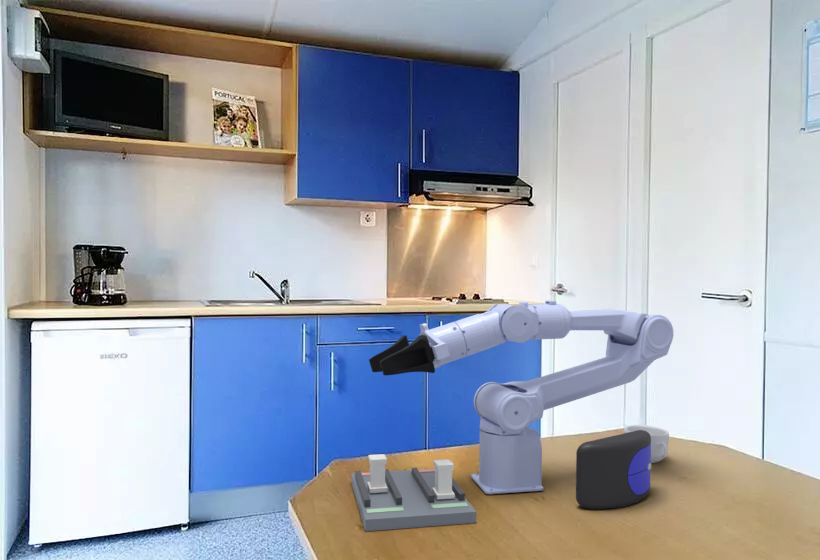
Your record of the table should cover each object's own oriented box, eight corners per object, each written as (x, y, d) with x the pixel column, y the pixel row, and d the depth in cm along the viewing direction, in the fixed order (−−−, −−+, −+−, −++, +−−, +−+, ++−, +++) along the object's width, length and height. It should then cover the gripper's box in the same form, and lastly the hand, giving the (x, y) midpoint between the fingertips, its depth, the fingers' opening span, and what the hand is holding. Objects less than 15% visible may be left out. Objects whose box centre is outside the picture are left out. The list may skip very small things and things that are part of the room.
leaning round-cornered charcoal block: (598, 518, 80) (599, 450, 80) (572, 507, 84) (573, 442, 84) (667, 495, 89) (668, 433, 89) (640, 485, 93) (641, 427, 93)
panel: (442, 477, 95) (442, 462, 95) (476, 522, 78) (476, 504, 78) (351, 482, 92) (351, 467, 92) (365, 531, 75) (365, 512, 75)
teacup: (615, 453, 109) (615, 425, 109) (651, 451, 111) (651, 423, 111) (646, 471, 100) (647, 440, 100) (686, 469, 101) (686, 438, 101)
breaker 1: (384, 484, 87) (384, 453, 87) (387, 492, 84) (387, 459, 84) (367, 485, 86) (367, 454, 86) (369, 493, 83) (370, 460, 83)
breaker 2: (449, 490, 85) (449, 458, 85) (454, 498, 82) (455, 465, 82) (432, 491, 84) (432, 459, 84) (437, 499, 81) (437, 466, 81)
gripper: (436, 316, 97) (359, 340, 93) (467, 313, 83) (379, 341, 79) (448, 357, 97) (372, 383, 93) (481, 360, 83) (393, 391, 79)
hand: (376, 367), depth 86 cm, fingers open, 7 cm apart
